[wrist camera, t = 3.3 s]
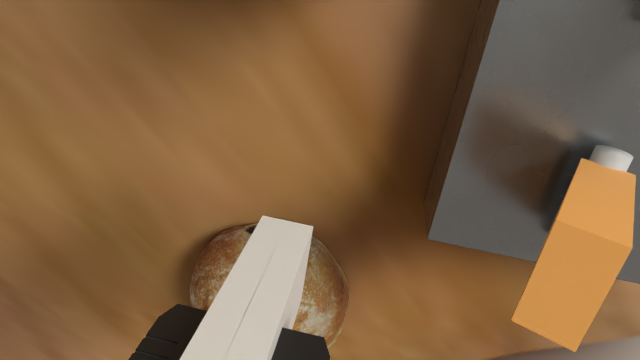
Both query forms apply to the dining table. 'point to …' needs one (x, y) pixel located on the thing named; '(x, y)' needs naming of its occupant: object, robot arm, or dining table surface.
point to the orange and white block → (582, 250)
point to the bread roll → (318, 292)
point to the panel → (535, 121)
